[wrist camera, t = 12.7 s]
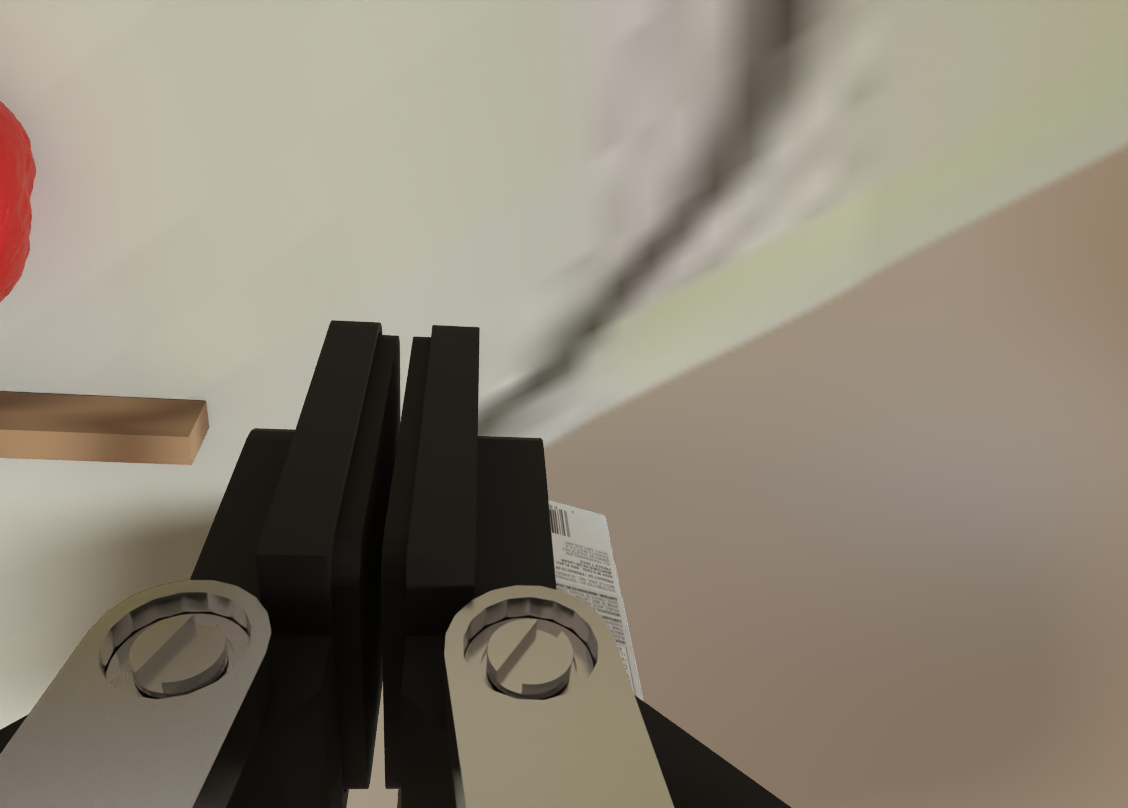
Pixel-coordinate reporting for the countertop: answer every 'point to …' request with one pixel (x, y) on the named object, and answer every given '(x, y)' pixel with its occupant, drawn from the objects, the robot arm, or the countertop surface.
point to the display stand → (101, 428)
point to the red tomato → (14, 199)
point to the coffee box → (590, 575)
